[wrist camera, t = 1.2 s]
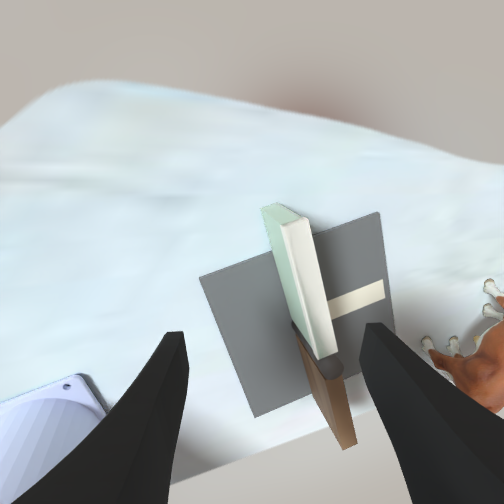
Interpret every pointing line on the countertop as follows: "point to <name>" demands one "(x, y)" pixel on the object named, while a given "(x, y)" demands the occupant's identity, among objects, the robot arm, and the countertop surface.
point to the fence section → (328, 390)
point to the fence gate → (300, 276)
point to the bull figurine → (477, 359)
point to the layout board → (279, 319)
